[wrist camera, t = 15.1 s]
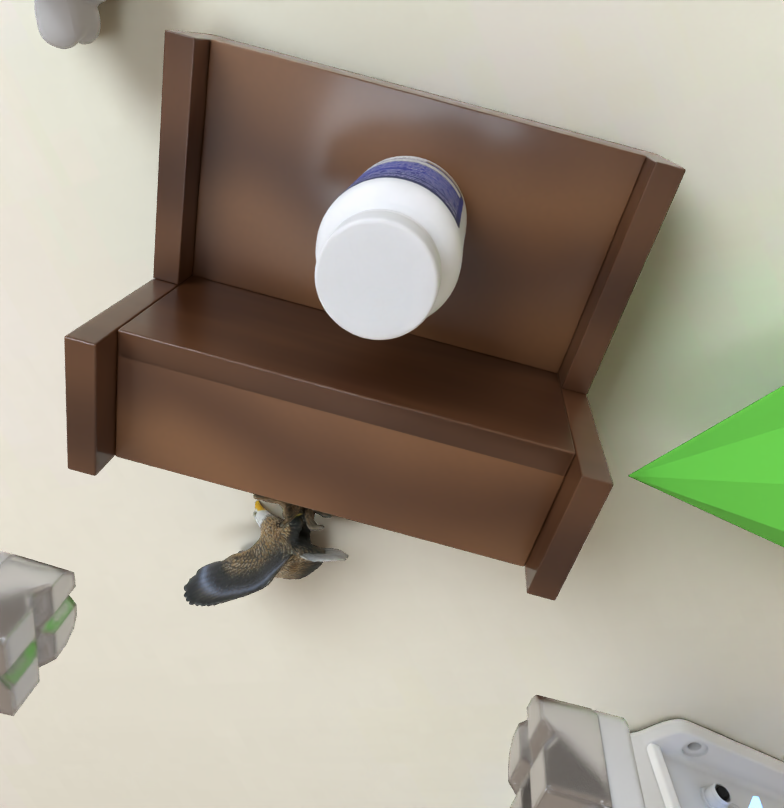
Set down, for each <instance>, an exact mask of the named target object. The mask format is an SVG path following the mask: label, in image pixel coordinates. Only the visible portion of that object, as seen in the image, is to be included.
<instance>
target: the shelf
mask: <svg viewBox="0 0 784 808" xmlns="http://www.w3.org/2000/svg"><path fill="white" fill-rule="evenodd" d="M396 156H414V157H419V158H423V159H426V160H429V161H431V162H433V163H435V164H437V165H438V166H440V167H441V168H442V169H444V170H445V171H446V172H447V173H448V174H449V175H450V176H451V177H452V178H453V180H454V181H455V182H456V184H457V185H458V187H459V189H460V191H461V193H462V195H463V198H464V201H465V205H466V212H467V225H466V235H465V239H464V246H463V257H462V265H461V270H460V274H459V277H458V281H457V283H456V285H455V288H454V290H453V291H452V293H451V295H450V296H449V298H448V299H447V300H446V302H445V303H444V304H443V305H442V306H441V307H440V308H439V309H438V310H437V311H436V312H434V313H433V314H432V315H430V316H429V317H427V318H426V319H425V320H424V321H423V322H422V323H421V324H420V325H419V326H418V327H417V328H415V329H414V330H412V331H411V332H409V333H407V334H405V335H402V336H400V337H397V338H393V339H387V340H372V339H366V338H362V337H359V336H356V335H354V334H352V333H350V332H348V331H346V330H345V329H343V328H342V327H340V326H339V325H338V324H337V323H336V322H334V320H333V319H332V318H331V317H330V316H329V315H328V314H327V312H326V311H325V309H324V308H323V306H322V304H321V302H320V300H319V297H318V294H317V290H316V286H315V266H316V253H315V251H316V240H317V234H318V230H319V227H320V224H321V222H322V219H323V217H324V216H325V214H326V212H327V211H328V209H329V208H330V206H331V205H332V204H333V202H334V201H335V200H336V199H337V198H338V197H339V196H340V195H341V194H342V193H343V192H344V191H345V190H346V189H347V188H348V187H349V186H351V185H352V184H353V183H354V182H355V181H356V180H357V179H358V178H359V177H360V176H361V175H362V174H363V173H364V172H365V171H366V170H368V169H369V168H370V167H371V166H373V165H375V164H376V163H378V162H380V161H382V160H385V159H388V158H391V157H396ZM684 173H685V169H684V168H682V167H680V166H678V165H677V164H675V163H673V162H671V161H669V160H667V159H665V158H663V157H662V156H660V155H658V154H654V153H651V152H647V151H643V150H640V149H636V148H631V147H628V146H625V145H621V144H617V143H613V142H610V141H606V140H602V139H599V138H595V137H591V136H587V135H584V134H580V133H576V132H573V131H569V130H565V129H561V128H558V127H554V126H550V125H546V124H543V123H539V122H535V121H532V120H528V119H524V118H520V117H517V116H513V115H509V114H506V113H502V112H498V111H494V110H491V109H487V108H483V107H479V106H476V105H472V104H468V103H465V102H461V101H457V100H453V99H450V98H446V97H442V96H439V95H435V94H431V93H427V92H424V91H420V90H416V89H412V88H409V87H405V86H401V85H398V84H394V83H390V82H386V81H383V80H379V79H375V78H372V77H368V76H364V75H360V74H357V73H353V72H349V71H345V70H342V69H338V68H334V67H331V66H327V65H323V64H319V63H316V62H312V61H308V60H304V59H301V58H297V57H293V56H290V55H286V54H282V53H278V52H275V51H271V50H267V49H264V48H260V47H256V46H252V45H249V44H245V43H241V42H237V41H234V40H230V39H226V38H223V37H219V36H215V35H211V34H203V33H194V32H184V31H175V30H165V43H164V64H163V85H162V107H161V128H160V149H159V170H158V191H157V213H156V234H155V255H154V276H153V277H154V279H152V280H151V281H149V282H148V283H146V284H145V285H143V286H142V287H140V288H139V289H137V290H135V291H134V292H132V293H131V294H129V295H128V296H126V297H125V298H123V299H122V300H120V301H119V302H117V303H115V304H114V305H112V306H111V307H109V308H108V309H106V310H105V311H103V312H102V313H100V314H99V315H97V316H95V317H94V318H92V319H91V320H89V321H88V322H86V323H85V324H83V325H82V326H80V327H79V328H77V329H75V330H74V331H72V332H71V333H69V334H68V335H66V336H65V376H66V414H67V452H68V468H69V469H71V470H75V471H79V472H83V473H86V474H90V475H94V476H95V475H97V474H98V473H99V472H100V471H101V469H102V468H103V467H104V466H105V465H106V464H107V463H108V462H109V461H110V460H111V459H112V458H113V457H114V456H115V455H116V456H117V457H120V458H124V459H128V460H131V461H135V462H139V463H142V464H146V465H150V466H153V467H157V468H161V469H165V470H168V471H172V472H176V473H179V474H183V475H187V476H190V477H194V478H198V479H202V480H205V481H209V482H213V483H216V484H220V485H224V486H227V487H231V488H235V489H238V490H242V491H246V492H250V493H253V494H257V495H261V496H264V497H268V498H272V499H275V500H279V501H283V502H287V503H290V504H294V505H298V506H301V507H305V508H309V509H312V510H316V511H320V512H323V513H327V514H331V515H335V516H338V517H342V518H346V519H349V520H353V521H357V522H360V523H364V524H368V525H372V526H375V527H379V528H383V529H386V530H390V531H394V532H397V533H401V534H405V535H408V536H412V537H416V538H420V539H423V540H427V541H431V542H434V543H438V544H442V545H445V546H449V547H453V548H457V549H460V550H464V551H468V552H471V553H475V554H479V555H482V556H486V557H490V558H493V559H497V560H501V561H505V562H508V563H512V564H516V565H519V566H525V573H526V586H527V593H529V594H532V595H536V596H540V597H543V598H547V599H551V600H555V599H556V597H557V596H558V594H559V592H560V590H561V588H562V586H563V584H564V582H565V580H566V578H567V576H568V574H569V572H570V570H571V568H572V566H573V564H574V562H575V560H576V558H577V556H578V554H579V552H580V550H581V548H582V546H583V544H584V542H585V540H586V538H587V536H588V534H589V532H590V530H591V528H592V526H593V524H594V522H595V520H596V518H597V516H598V514H599V512H600V511H601V509H602V507H603V505H604V503H605V501H606V499H607V497H608V495H609V493H610V491H611V489H612V487H613V482H612V478H611V475H610V472H609V468H608V465H607V462H606V458H605V455H604V452H603V449H602V445H601V442H600V439H599V435H598V432H597V429H596V425H595V422H594V419H593V415H592V412H591V409H590V406H589V402H588V399H587V396H586V394H587V393H588V391H589V389H590V386H591V384H592V382H593V380H594V377H595V375H596V373H597V371H598V368H599V366H600V364H601V361H602V359H603V357H604V355H605V352H606V350H607V348H608V346H609V343H610V341H611V339H612V336H613V334H614V332H615V330H616V327H617V325H618V323H619V321H620V318H621V316H622V314H623V312H624V309H625V307H626V305H627V302H628V300H629V298H630V296H631V293H632V291H633V289H634V287H635V284H636V282H637V280H638V278H639V275H640V273H641V271H642V268H643V266H644V264H645V262H646V259H647V257H648V255H649V253H650V250H651V248H652V246H653V244H654V241H655V239H656V237H657V234H658V232H659V230H660V228H661V225H662V223H663V221H664V219H665V216H666V214H667V212H668V210H669V207H670V205H671V203H672V200H673V198H674V196H675V194H676V191H677V189H678V187H679V185H680V182H681V180H682V178H683V175H684Z"/></svg>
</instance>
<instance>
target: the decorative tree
mask: <svg viewBox="0 0 784 808" xmlns="http://www.w3.org/2000/svg"><path fill="white" fill-rule="evenodd" d="M628 476H629V477H632V478H634V479H636V480H638V481H640V482H642V483H645V484H647V485H649V486H651V487H653V488H656V489H658V490H660V491H662V492H664V493H666V494H669V495H671V496H673V497H675V498H677V499H680V500H682V501H684V502H686V503H688V504H690V505H693V506H695V507H697V508H699V509H701V510H704V511H706V512H708V513H710V514H712V515H714V516H717V517H719V518H721V519H723V520H725V521H728V522H730V523H732V524H734V525H736V526H738V527H741V528H743V529H745V530H747V531H749V532H751V533H754V534H756V535H758V536H760V537H762V538H765V539H767V540H769V541H771V542H773V543H775V544H778V545H780V546H782V547H784V386H782V387H780V388H779V389H777V390H775V391H773V392H772V393H770V394H768V395H766V396H765V397H763V398H761V399H760V400H758V401H756V402H754V403H753V404H751V405H749V406H747V407H746V408H744V409H742V410H741V411H739V412H737V413H735V414H734V415H732V416H730V417H728V418H727V419H725V420H723V421H722V422H720V423H718V424H716V425H715V426H713V427H711V428H709V429H708V430H706V431H704V432H703V433H701V434H699V435H697V436H696V437H694V438H692V439H690V440H689V441H687V442H685V443H684V444H682V445H680V446H678V447H677V448H675V449H673V450H671V451H670V452H668V453H666V454H665V455H663V456H661V457H659V458H658V459H656V460H654V461H652V462H651V463H649V464H647V465H646V466H644V467H642V468H640V469H639V470H637V471H635V472H633V473H632V474H630V475H628Z"/></svg>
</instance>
